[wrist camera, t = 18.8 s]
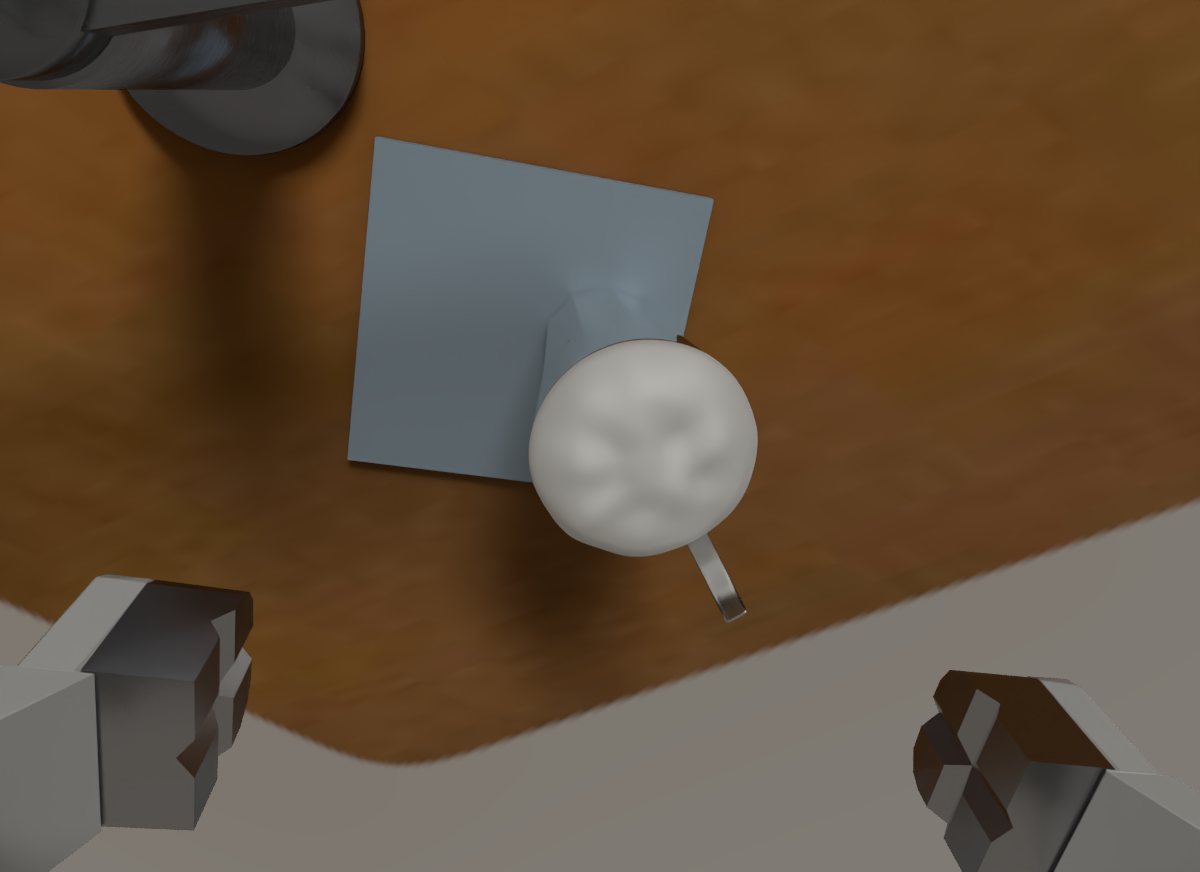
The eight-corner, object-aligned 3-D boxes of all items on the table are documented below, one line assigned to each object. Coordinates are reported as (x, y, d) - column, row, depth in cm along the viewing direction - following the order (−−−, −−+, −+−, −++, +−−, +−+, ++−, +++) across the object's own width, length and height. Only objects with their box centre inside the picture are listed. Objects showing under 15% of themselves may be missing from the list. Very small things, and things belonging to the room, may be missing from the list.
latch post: (375, -87, 20) (261, -249, 11) (354, 172, 22) (244, 233, 13) (104, -149, 19) (-293, -389, 10) (109, 129, 21) (-213, 160, 12)
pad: (709, 197, 24) (713, 199, 23) (644, 489, 27) (647, 496, 26) (377, 136, 22) (374, 137, 22) (349, 452, 25) (347, 459, 25)
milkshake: (585, 465, 26) (632, 674, 17) (490, 315, 24) (483, 458, 14) (718, 390, 25) (843, 562, 16) (632, 231, 23) (719, 323, 14)
